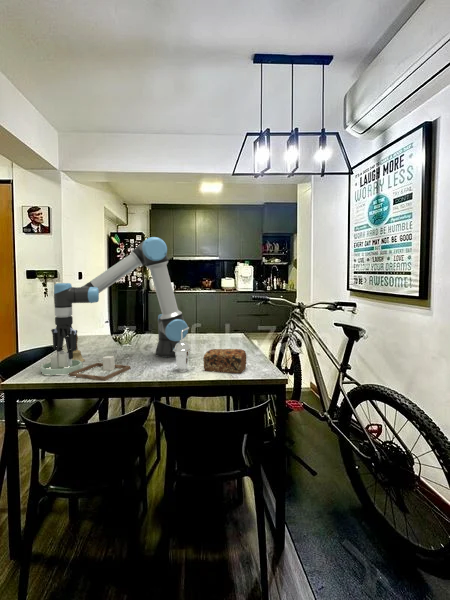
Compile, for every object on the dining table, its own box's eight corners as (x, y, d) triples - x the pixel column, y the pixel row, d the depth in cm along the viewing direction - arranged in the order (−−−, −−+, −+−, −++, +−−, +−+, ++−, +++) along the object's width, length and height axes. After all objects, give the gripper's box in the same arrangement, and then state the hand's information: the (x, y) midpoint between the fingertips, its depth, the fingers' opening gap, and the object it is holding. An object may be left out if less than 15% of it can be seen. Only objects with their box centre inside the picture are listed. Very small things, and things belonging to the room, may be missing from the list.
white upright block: (114, 368, 174) (114, 356, 173) (111, 370, 170) (110, 358, 169) (107, 368, 174) (106, 355, 174) (103, 370, 170) (102, 357, 170)
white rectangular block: (64, 368, 172) (63, 356, 172) (57, 370, 168) (57, 358, 168) (57, 367, 173) (57, 355, 173) (51, 369, 170) (50, 357, 169)
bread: (247, 368, 171) (247, 348, 170) (240, 374, 161) (240, 353, 160) (210, 365, 177) (210, 345, 176) (202, 371, 167) (202, 350, 166)
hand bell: (78, 363, 182) (77, 333, 181) (64, 363, 184) (62, 332, 183) (88, 359, 191) (86, 330, 189) (74, 359, 192) (72, 329, 191)
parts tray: (130, 368, 172) (130, 365, 172) (104, 380, 154) (104, 377, 154) (97, 365, 178) (97, 362, 178) (68, 376, 161) (68, 373, 161)
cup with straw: (170, 369, 170) (169, 328, 168) (188, 366, 174) (187, 326, 173) (177, 374, 163) (176, 330, 161) (195, 371, 167) (194, 328, 165)
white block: (71, 365, 170) (71, 352, 170) (65, 367, 167) (65, 354, 166) (64, 364, 172) (64, 352, 171) (58, 366, 168) (58, 354, 167)
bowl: (89, 367, 176) (89, 361, 175) (62, 377, 159) (62, 371, 159) (61, 364, 181) (61, 358, 181) (32, 374, 165) (32, 367, 165)
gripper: (84, 316, 168) (85, 364, 170) (55, 314, 174) (57, 361, 176) (72, 318, 161) (74, 369, 163) (43, 316, 167) (45, 365, 169)
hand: (65, 365), depth 169 cm, fingers closed on white block, 4 cm apart
